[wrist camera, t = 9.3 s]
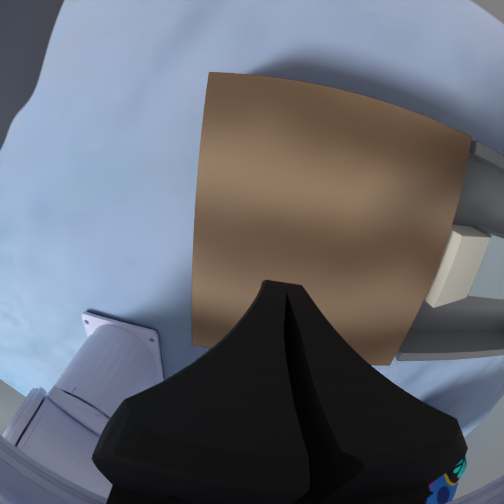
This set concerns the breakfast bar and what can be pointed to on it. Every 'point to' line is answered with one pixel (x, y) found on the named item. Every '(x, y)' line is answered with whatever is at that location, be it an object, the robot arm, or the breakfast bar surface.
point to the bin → (470, 308)
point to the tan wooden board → (320, 206)
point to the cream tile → (457, 265)
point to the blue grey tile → (490, 268)
